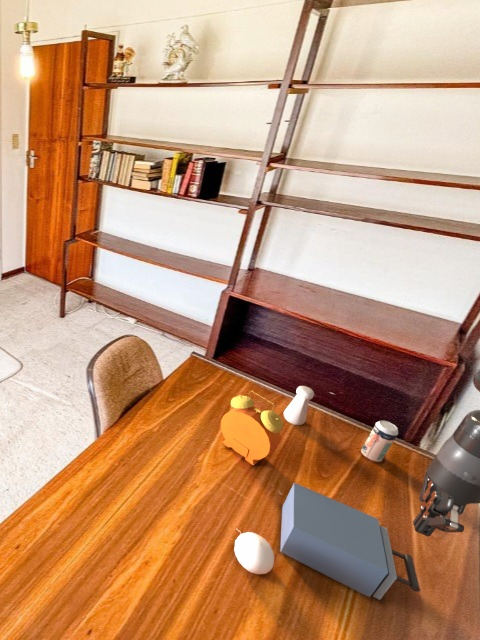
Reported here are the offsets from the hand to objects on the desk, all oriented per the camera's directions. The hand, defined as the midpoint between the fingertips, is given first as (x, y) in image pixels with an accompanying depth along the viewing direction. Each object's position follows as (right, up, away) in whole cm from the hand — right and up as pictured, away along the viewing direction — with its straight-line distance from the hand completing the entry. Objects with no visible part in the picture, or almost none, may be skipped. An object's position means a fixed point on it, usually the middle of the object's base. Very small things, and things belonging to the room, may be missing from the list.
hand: (420, 529), depth 75 cm
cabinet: (-10, -12, +13) cm, 20 cm away
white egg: (-27, -13, +11) cm, 32 cm away
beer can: (+22, -3, +36) cm, 43 cm away
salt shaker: (+8, +3, +48) cm, 48 cm away
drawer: (-6, -13, +10) cm, 17 cm away
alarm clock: (-14, -1, +37) cm, 39 cm away
